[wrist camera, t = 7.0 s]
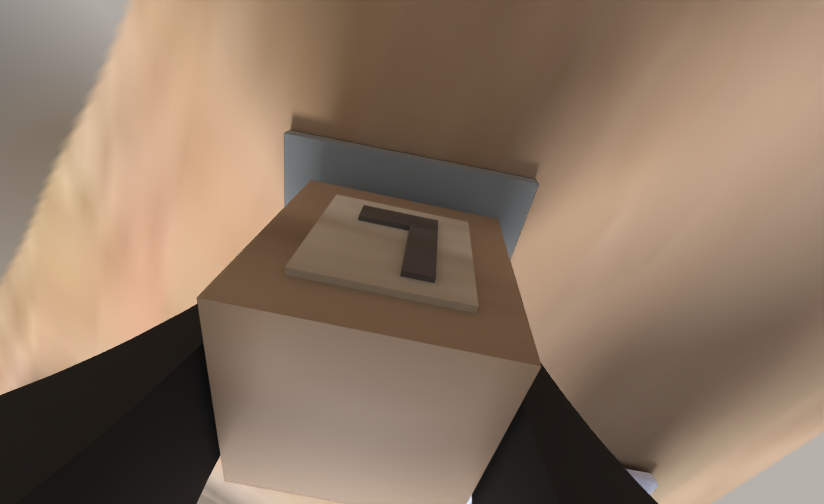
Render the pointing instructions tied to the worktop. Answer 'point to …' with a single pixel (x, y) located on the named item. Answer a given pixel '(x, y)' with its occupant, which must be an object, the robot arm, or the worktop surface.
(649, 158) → the worktop surface
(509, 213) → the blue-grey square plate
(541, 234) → the worktop surface
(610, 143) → the worktop surface
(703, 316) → the worktop surface
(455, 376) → the letter cube
